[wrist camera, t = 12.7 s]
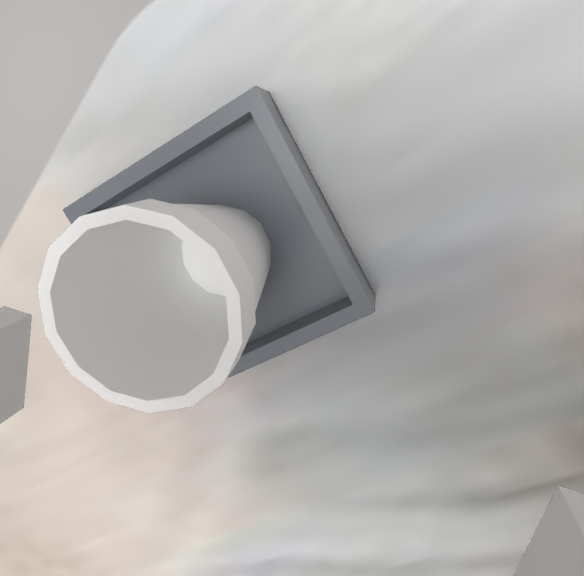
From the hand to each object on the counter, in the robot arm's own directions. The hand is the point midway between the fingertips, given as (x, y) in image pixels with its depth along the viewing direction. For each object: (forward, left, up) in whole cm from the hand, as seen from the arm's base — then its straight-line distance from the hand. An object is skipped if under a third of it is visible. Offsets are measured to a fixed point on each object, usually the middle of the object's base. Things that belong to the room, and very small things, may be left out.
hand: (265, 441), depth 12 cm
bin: (+4, +7, -22) cm, 24 cm away
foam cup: (+4, +7, -22) cm, 23 cm away
